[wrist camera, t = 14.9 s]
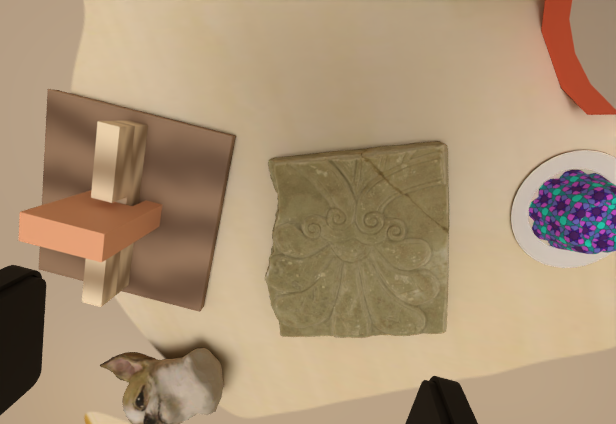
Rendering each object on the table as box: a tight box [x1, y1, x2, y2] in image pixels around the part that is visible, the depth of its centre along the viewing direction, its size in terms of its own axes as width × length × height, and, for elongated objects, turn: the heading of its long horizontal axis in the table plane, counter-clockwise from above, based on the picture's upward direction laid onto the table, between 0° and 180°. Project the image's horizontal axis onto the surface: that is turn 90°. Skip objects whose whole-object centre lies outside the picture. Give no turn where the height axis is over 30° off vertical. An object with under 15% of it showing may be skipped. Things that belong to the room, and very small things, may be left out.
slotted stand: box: [39, 89, 236, 312], centre depth 37 cm, size 20×19×6 cm
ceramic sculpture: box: [100, 348, 224, 424], centre depth 42 cm, size 11×9×15 cm
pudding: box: [511, 150, 616, 268], centre depth 35 cm, size 12×12×5 cm
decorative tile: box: [265, 141, 449, 338], centre depth 38 cm, size 19×20×4 cm
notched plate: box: [19, 190, 162, 262], centre depth 34 cm, size 2×7×10 cm, turn 76°
